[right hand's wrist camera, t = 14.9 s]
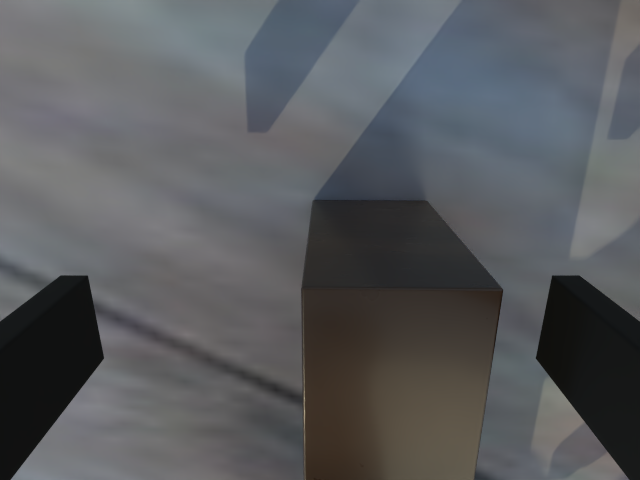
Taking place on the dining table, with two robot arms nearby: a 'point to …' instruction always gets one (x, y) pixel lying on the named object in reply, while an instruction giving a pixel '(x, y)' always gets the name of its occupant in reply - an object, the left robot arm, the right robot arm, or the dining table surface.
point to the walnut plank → (393, 344)
